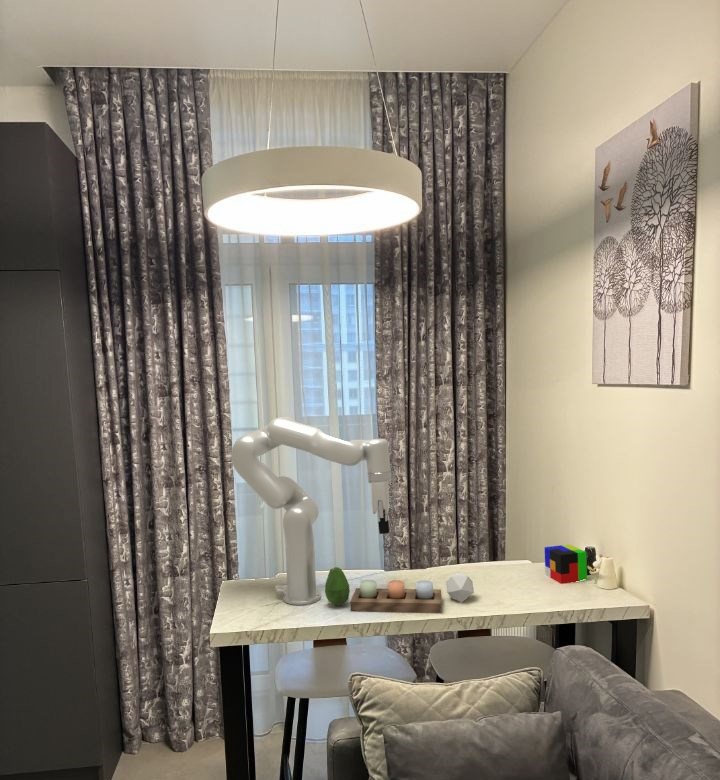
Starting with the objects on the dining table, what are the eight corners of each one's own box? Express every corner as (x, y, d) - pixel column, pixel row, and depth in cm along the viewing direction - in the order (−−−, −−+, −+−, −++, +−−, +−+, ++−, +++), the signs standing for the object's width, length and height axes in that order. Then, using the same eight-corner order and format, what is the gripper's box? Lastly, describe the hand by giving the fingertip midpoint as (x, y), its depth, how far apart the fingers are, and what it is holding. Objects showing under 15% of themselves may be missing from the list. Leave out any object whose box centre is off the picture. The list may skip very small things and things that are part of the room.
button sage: (359, 597, 187) (358, 585, 187) (361, 592, 192) (361, 579, 192) (375, 598, 186) (375, 585, 186) (377, 592, 192) (377, 580, 191)
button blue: (416, 598, 184) (415, 586, 184) (417, 592, 190) (416, 580, 190) (433, 599, 184) (432, 586, 184) (433, 593, 189) (433, 580, 189)
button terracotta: (387, 598, 186) (387, 585, 186) (389, 592, 191) (388, 580, 191) (404, 598, 185) (403, 586, 185) (405, 592, 190) (404, 580, 190)
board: (350, 611, 184) (350, 601, 184) (356, 597, 196) (356, 588, 196) (441, 613, 180) (440, 603, 180) (441, 598, 192) (441, 589, 192)
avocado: (334, 598, 195) (333, 562, 195) (354, 602, 191) (353, 565, 191) (320, 607, 189) (319, 569, 188) (340, 611, 184) (339, 573, 184)
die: (480, 603, 188) (477, 572, 194) (464, 596, 183) (461, 564, 189) (457, 608, 193) (455, 577, 199) (441, 601, 188) (439, 570, 194)
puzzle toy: (545, 575, 211) (544, 547, 211) (570, 571, 213) (569, 544, 213) (561, 584, 201) (560, 555, 201) (587, 580, 204) (586, 551, 203)
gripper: (370, 474, 200) (375, 528, 200) (365, 481, 185) (370, 540, 185) (392, 472, 199) (397, 526, 199) (389, 480, 184) (394, 538, 185)
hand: (384, 532), depth 192 cm, fingers closed
